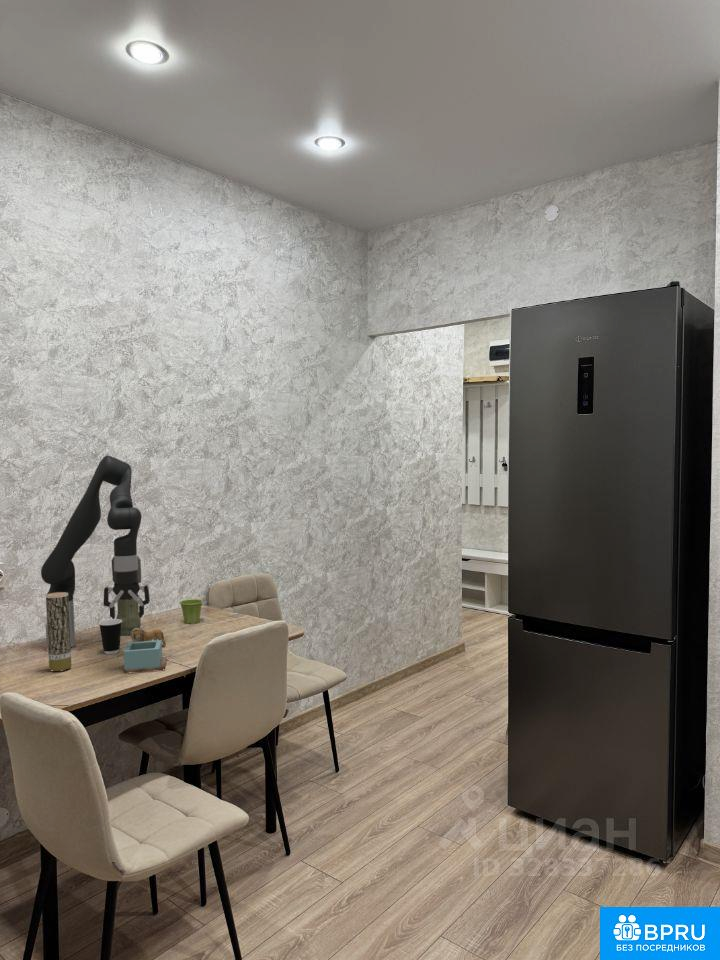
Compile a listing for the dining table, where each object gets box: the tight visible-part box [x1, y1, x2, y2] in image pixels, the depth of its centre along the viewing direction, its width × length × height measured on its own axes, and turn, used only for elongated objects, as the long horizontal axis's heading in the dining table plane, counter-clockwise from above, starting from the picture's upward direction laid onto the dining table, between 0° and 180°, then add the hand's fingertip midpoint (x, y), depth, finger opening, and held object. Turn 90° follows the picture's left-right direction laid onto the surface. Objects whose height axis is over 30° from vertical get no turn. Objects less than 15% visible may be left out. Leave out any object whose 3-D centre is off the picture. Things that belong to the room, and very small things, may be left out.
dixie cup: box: [98, 618, 122, 655], centre depth 251 cm, size 8×8×11 cm
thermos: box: [111, 555, 142, 637], centre depth 276 cm, size 9×12×35 cm
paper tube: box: [45, 592, 72, 672], centre depth 232 cm, size 7×7×25 cm
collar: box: [123, 639, 163, 671], centre depth 233 cm, size 11×11×6 cm
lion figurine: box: [130, 628, 167, 648], centre depth 253 cm, size 15×5×9 cm, turn 145°
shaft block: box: [125, 656, 168, 674], centre depth 233 cm, size 12×12×4 cm
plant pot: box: [179, 598, 204, 624], centre depth 291 cm, size 9×9×9 cm
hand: (127, 617), depth 231 cm, fingers open, 8 cm apart
